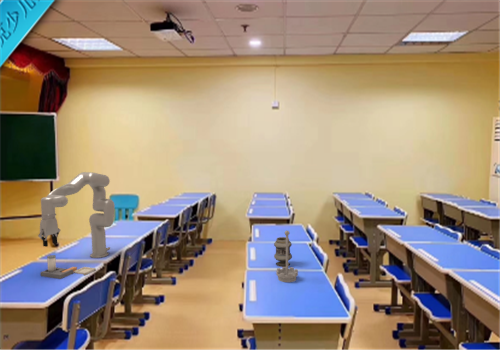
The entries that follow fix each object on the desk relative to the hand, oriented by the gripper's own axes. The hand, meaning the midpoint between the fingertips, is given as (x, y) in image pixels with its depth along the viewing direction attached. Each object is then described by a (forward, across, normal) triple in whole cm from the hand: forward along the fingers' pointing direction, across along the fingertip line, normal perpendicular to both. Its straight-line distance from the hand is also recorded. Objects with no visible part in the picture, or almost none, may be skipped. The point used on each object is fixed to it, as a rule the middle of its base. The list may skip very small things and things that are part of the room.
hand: (50, 244), depth 235 cm
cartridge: (+19, 0, 0) cm, 19 cm away
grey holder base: (+20, 0, +4) cm, 20 cm away
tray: (+20, -10, +16) cm, 28 cm away
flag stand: (+20, -40, +143) cm, 150 cm away
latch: (+19, -5, +9) cm, 22 cm away
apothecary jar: (+20, -65, +134) cm, 150 cm away
